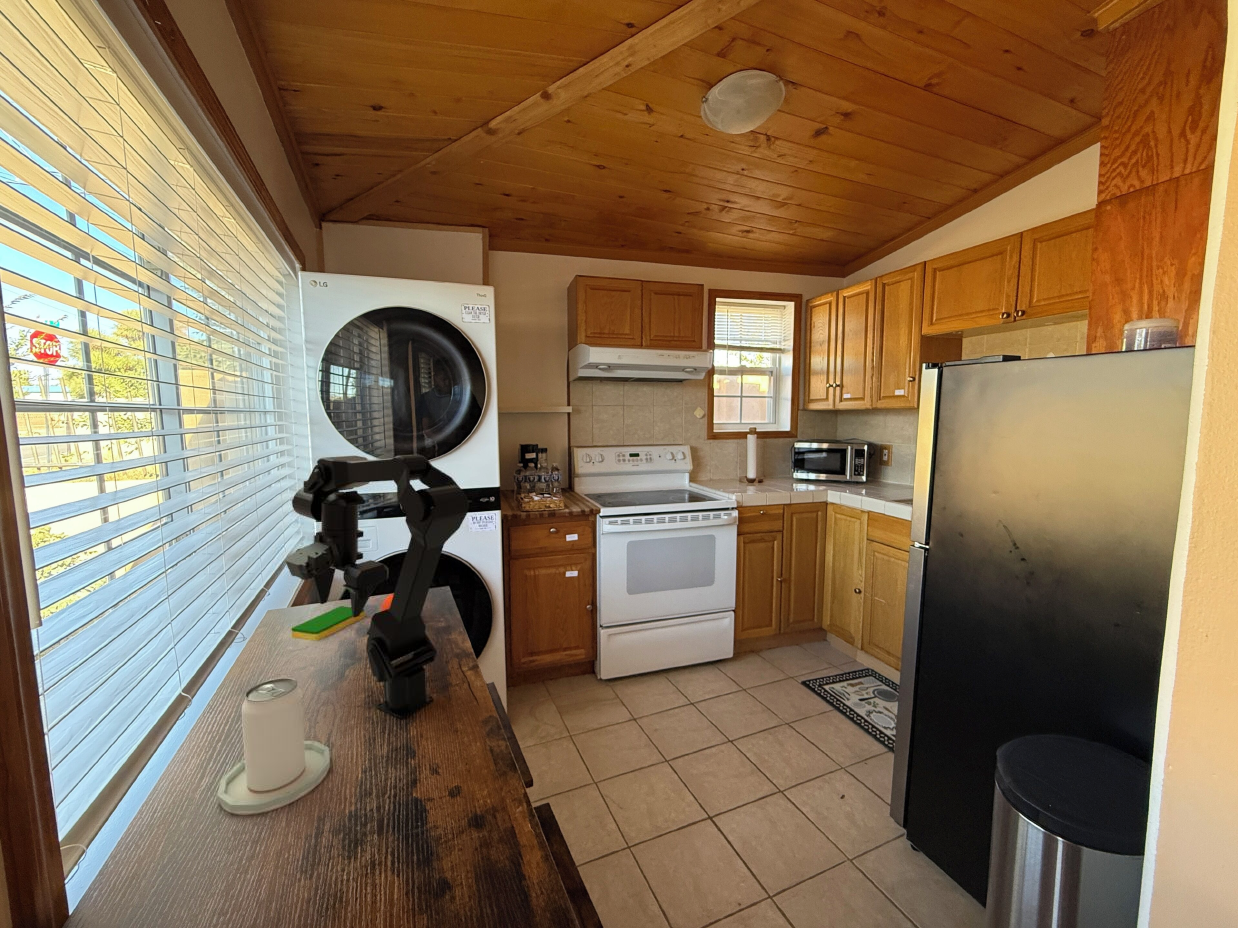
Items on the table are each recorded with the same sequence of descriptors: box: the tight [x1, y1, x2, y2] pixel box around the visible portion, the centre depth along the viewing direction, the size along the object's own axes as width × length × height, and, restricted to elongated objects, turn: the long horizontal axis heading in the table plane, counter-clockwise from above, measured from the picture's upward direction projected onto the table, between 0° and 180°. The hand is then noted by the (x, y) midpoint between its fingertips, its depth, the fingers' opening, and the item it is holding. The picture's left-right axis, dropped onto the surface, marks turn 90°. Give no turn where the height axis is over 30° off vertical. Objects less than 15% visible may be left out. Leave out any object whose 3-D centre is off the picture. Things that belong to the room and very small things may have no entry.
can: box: [241, 677, 305, 792], centre depth 66 cm, size 6×6×12 cm
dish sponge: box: [291, 605, 365, 642], centre depth 116 cm, size 7×14×2 cm, turn 164°
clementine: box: [380, 592, 394, 612], centre depth 118 cm, size 8×7×7 cm
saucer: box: [216, 740, 331, 816], centre depth 67 cm, size 12×12×1 cm
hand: (339, 609), depth 92 cm, fingers open, 9 cm apart
